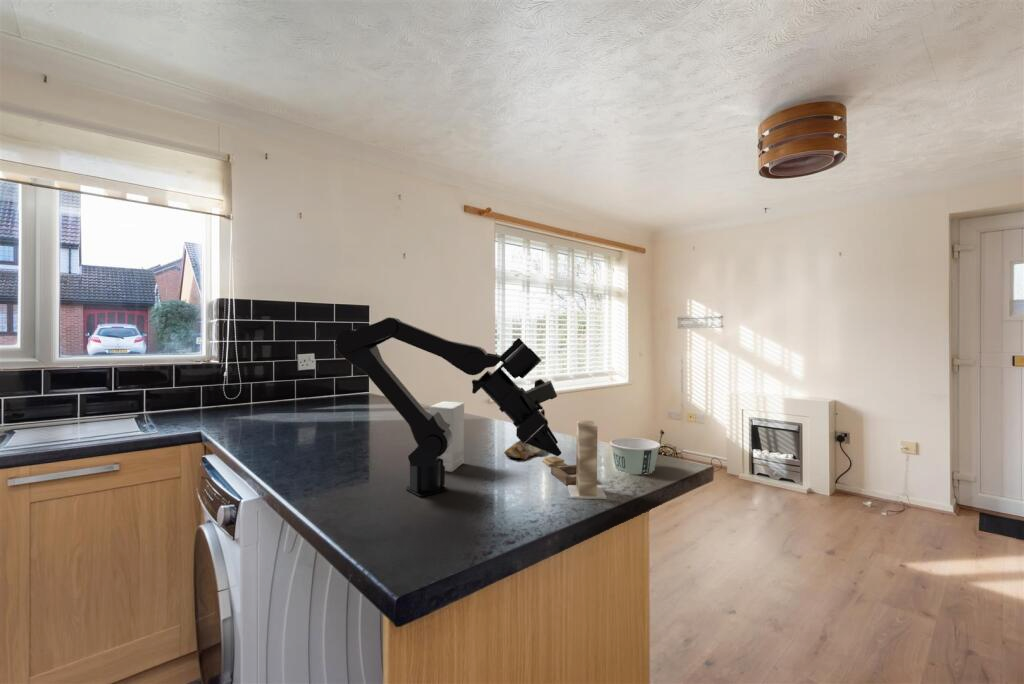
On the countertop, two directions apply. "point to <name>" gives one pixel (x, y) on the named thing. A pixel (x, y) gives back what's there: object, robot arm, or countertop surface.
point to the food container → (634, 455)
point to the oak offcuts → (553, 461)
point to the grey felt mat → (575, 494)
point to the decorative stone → (522, 450)
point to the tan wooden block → (586, 458)
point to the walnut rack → (564, 474)
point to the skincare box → (455, 418)
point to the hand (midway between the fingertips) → (558, 448)
